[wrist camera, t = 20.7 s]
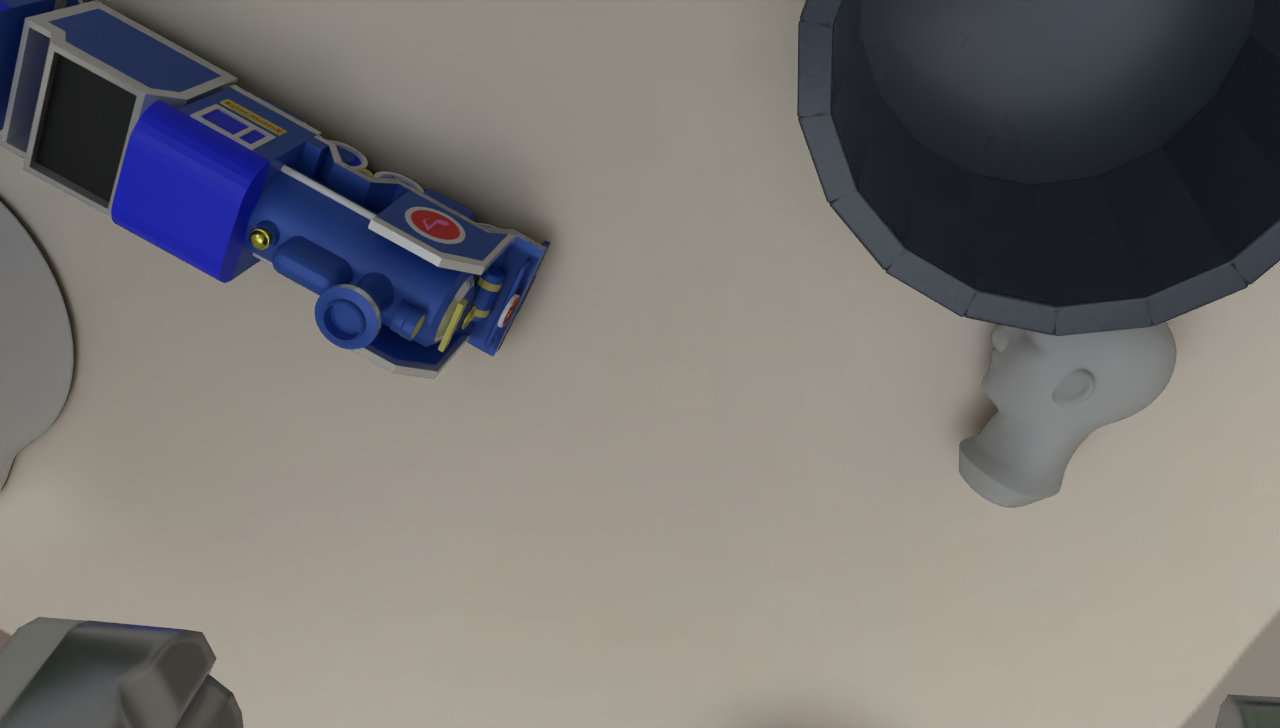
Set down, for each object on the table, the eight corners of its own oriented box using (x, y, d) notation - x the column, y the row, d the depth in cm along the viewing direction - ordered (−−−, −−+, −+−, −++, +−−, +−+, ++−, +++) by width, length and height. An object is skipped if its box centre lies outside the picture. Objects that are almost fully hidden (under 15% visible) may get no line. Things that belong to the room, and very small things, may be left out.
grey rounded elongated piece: (1079, 235, 39) (1207, 337, 38) (926, 406, 43) (1038, 504, 42) (1059, 253, 36) (1200, 366, 35) (893, 439, 39) (1015, 546, 38)
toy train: (505, 342, 45) (426, 440, 38) (-85, 20, 45) (-270, 61, 38) (557, 233, 42) (482, 317, 35) (-66, -107, 42) (-260, -88, 35)
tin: (830, 199, 40) (794, 323, 30) (841, -231, 34) (801, -238, 25) (1243, 211, 37) (1341, 351, 28) (1326, -256, 31) (1482, -275, 22)
